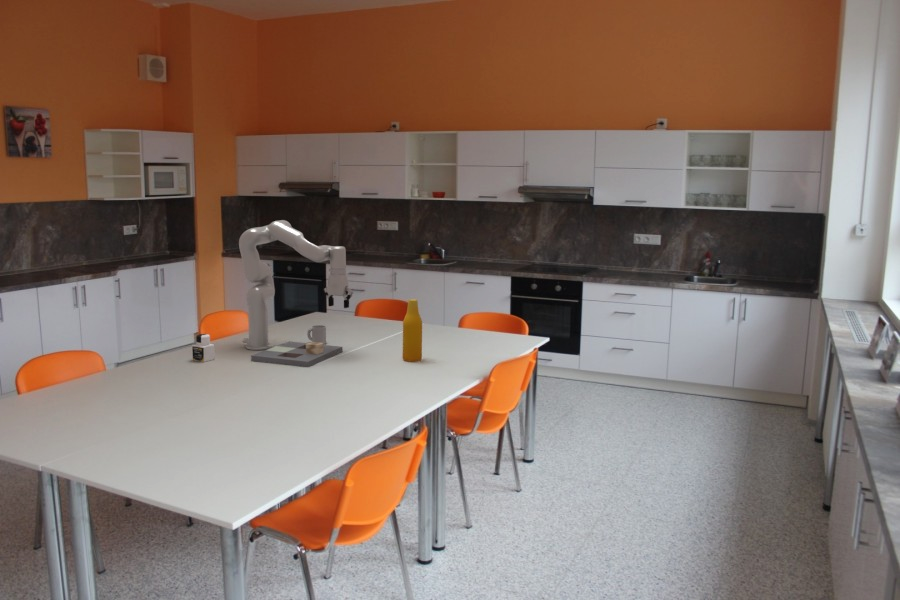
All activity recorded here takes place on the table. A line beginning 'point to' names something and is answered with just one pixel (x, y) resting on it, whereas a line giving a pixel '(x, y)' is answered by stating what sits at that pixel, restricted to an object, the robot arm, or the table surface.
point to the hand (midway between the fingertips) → (338, 306)
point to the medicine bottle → (203, 349)
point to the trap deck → (295, 354)
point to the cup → (317, 334)
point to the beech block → (314, 348)
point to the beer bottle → (412, 333)
